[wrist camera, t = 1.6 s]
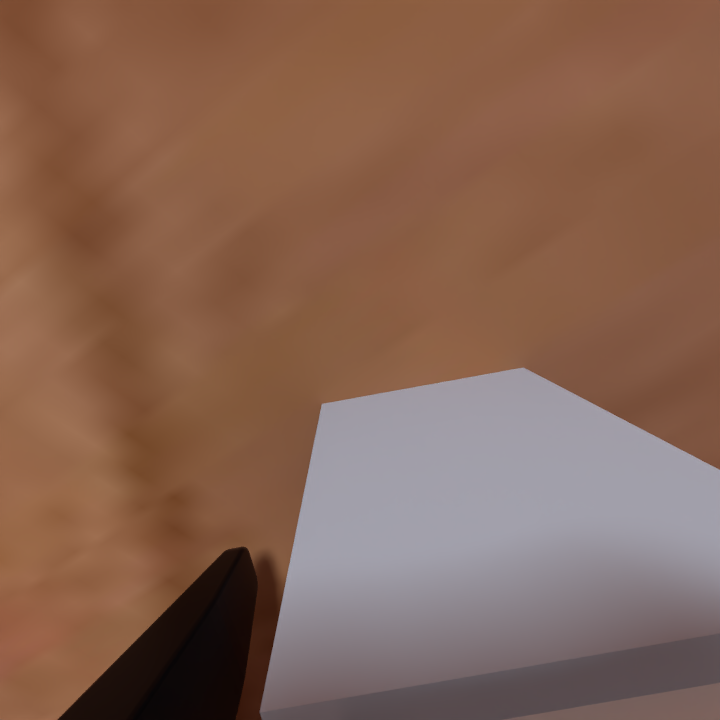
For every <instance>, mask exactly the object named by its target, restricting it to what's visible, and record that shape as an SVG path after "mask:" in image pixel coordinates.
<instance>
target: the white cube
mask: <svg viewBox="0 0 720 720" xmlns="http://www.w3.org/2000/svg"><path fill="white" fill-rule="evenodd" d="M260 715H261V718H262V720H720V470H719V469H717V468H715V467H713V466H711V465H709V464H707V463H705V462H703V461H701V460H700V459H698V458H696V457H694V456H692V455H690V454H688V453H686V452H684V451H682V450H680V449H678V448H677V447H675V446H673V445H671V444H669V443H667V442H665V441H663V440H661V439H659V438H657V437H655V436H654V435H652V434H650V433H648V432H646V431H644V430H642V429H640V428H638V427H636V426H634V425H632V424H631V423H629V422H627V421H625V420H623V419H621V418H619V417H617V416H615V415H613V414H611V413H610V412H608V411H606V410H604V409H602V408H600V407H598V406H596V405H594V404H592V403H590V402H588V401H587V400H585V399H583V398H581V397H579V396H577V395H575V394H573V393H571V392H569V391H567V390H565V389H564V388H562V387H560V386H558V385H556V384H554V383H552V382H550V381H548V380H546V379H544V378H542V377H541V376H539V375H537V374H535V373H533V372H531V371H529V370H527V369H525V368H519V369H513V370H508V371H502V372H497V373H491V374H485V375H480V376H474V377H469V378H463V379H458V380H452V381H447V382H441V383H436V384H430V385H425V386H419V387H414V388H408V389H402V390H397V391H391V392H386V393H380V394H375V395H369V396H364V397H358V398H353V399H347V400H342V401H336V402H331V403H325V404H322V406H321V411H320V416H319V421H318V426H317V431H316V436H315V441H314V446H313V451H312V456H311V461H310V466H309V471H308V475H307V480H306V485H305V490H304V495H303V500H302V505H301V510H300V515H299V520H298V525H297V530H296V535H295V540H294V545H293V550H292V555H291V560H290V564H289V569H288V574H287V579H286V584H285V589H284V594H283V599H282V604H281V609H280V614H279V619H278V624H277V629H276V634H275V639H274V644H273V648H272V653H271V658H270V663H269V668H268V673H267V678H266V683H265V688H264V693H263V698H262V703H261V708H260Z"/></svg>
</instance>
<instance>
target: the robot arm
mask: <svg viewBox="0 0 720 720" xmlns="http://www.w3.org/2000/svg"><path fill="white" fill-rule="evenodd" d="M257 589H258V581H257V575H256V572H255V569H254V566H253V563H252V560H251V557H250V553H249V551H248V549H247V548H246V547H238V548H232V549H228V550H226V551H225V552H223V553H222V554H221V555H220V556H219V557H218V558H217V559H216V560H215V561H214V562H213V563H212V564H211V565H210V566H209V567H208V568H207V569H206V570H205V571H204V572H203V573H202V574H201V575H200V576H199V578H198V579H197V580H196V581H195V582H194V583H193V584H192V585H191V586H190V587H189V588H188V589H187V590H186V591H185V592H184V593H183V594H182V595H181V596H180V597H179V598H178V599H177V600H176V601H175V602H174V603H173V604H172V605H171V606H170V607H169V608H168V609H167V610H166V611H165V612H164V613H163V614H162V615H161V616H160V617H159V618H158V619H157V620H156V621H155V622H154V623H153V624H152V625H151V626H150V627H149V628H148V629H147V630H146V631H145V632H144V633H143V634H142V635H141V636H140V637H139V638H138V639H137V640H136V641H135V642H134V643H133V644H132V645H131V646H130V647H129V648H128V649H127V650H126V651H125V652H124V653H123V654H122V655H121V656H120V657H119V658H118V659H117V660H116V661H115V662H114V663H113V664H112V665H111V666H110V667H109V668H108V669H107V670H106V671H105V672H104V673H103V674H102V675H101V676H100V677H99V678H98V679H97V680H96V681H95V682H94V683H93V684H92V685H91V686H90V687H89V688H88V689H87V690H86V691H85V692H84V693H83V694H82V695H81V696H80V697H79V698H78V699H77V700H76V702H75V703H74V704H73V705H72V706H71V707H70V708H69V709H68V710H67V711H66V712H65V713H64V714H63V715H62V716H61V717H60V718H59V719H58V720H235V719H236V715H237V711H238V706H239V702H240V698H241V693H242V688H243V684H244V679H245V673H246V667H247V660H248V653H249V646H250V639H251V632H252V625H253V618H254V611H255V604H256V597H257Z"/></svg>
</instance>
